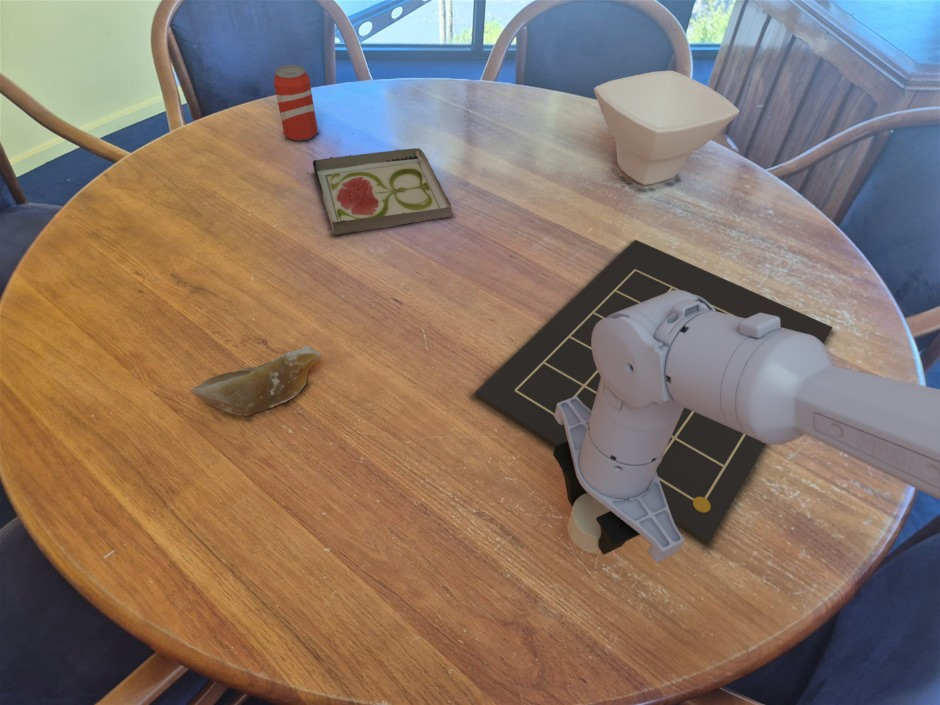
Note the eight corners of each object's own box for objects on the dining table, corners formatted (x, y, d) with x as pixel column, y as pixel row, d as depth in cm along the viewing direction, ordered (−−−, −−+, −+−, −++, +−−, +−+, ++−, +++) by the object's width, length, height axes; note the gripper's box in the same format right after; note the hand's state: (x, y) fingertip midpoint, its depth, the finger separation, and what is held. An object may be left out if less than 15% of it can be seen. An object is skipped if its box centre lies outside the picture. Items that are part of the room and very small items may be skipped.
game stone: (626, 541, 55) (633, 525, 53) (584, 561, 54) (590, 545, 52) (598, 501, 58) (604, 484, 56) (558, 519, 56) (562, 502, 54)
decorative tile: (424, 161, 114) (313, 170, 109) (424, 145, 112) (311, 154, 107) (452, 224, 101) (327, 238, 96) (453, 208, 98) (325, 221, 94)
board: (707, 545, 63) (710, 540, 62) (475, 397, 75) (475, 391, 74) (829, 332, 84) (833, 326, 84) (634, 244, 97) (635, 238, 96)
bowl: (571, 161, 114) (584, 85, 104) (655, 139, 120) (674, 66, 110) (634, 214, 102) (654, 135, 92) (723, 187, 109) (751, 110, 99)
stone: (177, 364, 69) (306, 316, 73) (193, 388, 74) (312, 342, 79) (197, 418, 66) (330, 365, 71) (212, 439, 72) (334, 388, 76)
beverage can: (305, 123, 121) (293, 60, 112) (324, 135, 118) (315, 71, 109) (278, 134, 118) (264, 70, 109) (298, 146, 115) (285, 81, 106)
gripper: (739, 492, 42) (683, 577, 52) (616, 349, 51) (588, 445, 60) (654, 533, 39) (613, 613, 49) (541, 376, 48) (525, 471, 58)
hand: (595, 523), depth 55 cm, fingers closed on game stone, 4 cm apart
